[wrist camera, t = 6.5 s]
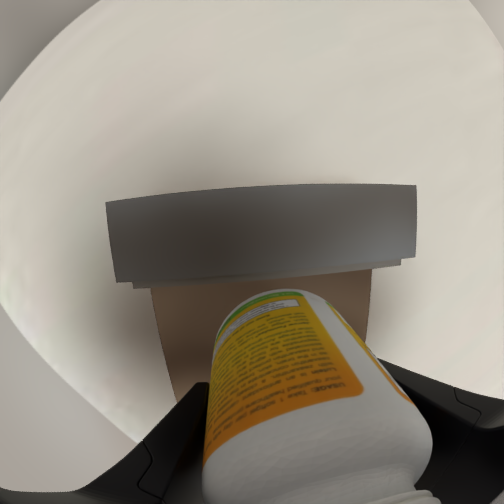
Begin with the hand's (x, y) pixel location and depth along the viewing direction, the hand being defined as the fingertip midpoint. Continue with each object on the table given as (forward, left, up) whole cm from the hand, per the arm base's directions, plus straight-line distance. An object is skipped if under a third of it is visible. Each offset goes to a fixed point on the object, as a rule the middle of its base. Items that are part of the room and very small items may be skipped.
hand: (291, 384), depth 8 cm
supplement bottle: (0, 0, -3) cm, 3 cm away
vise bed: (-4, 0, -8) cm, 8 cm away
